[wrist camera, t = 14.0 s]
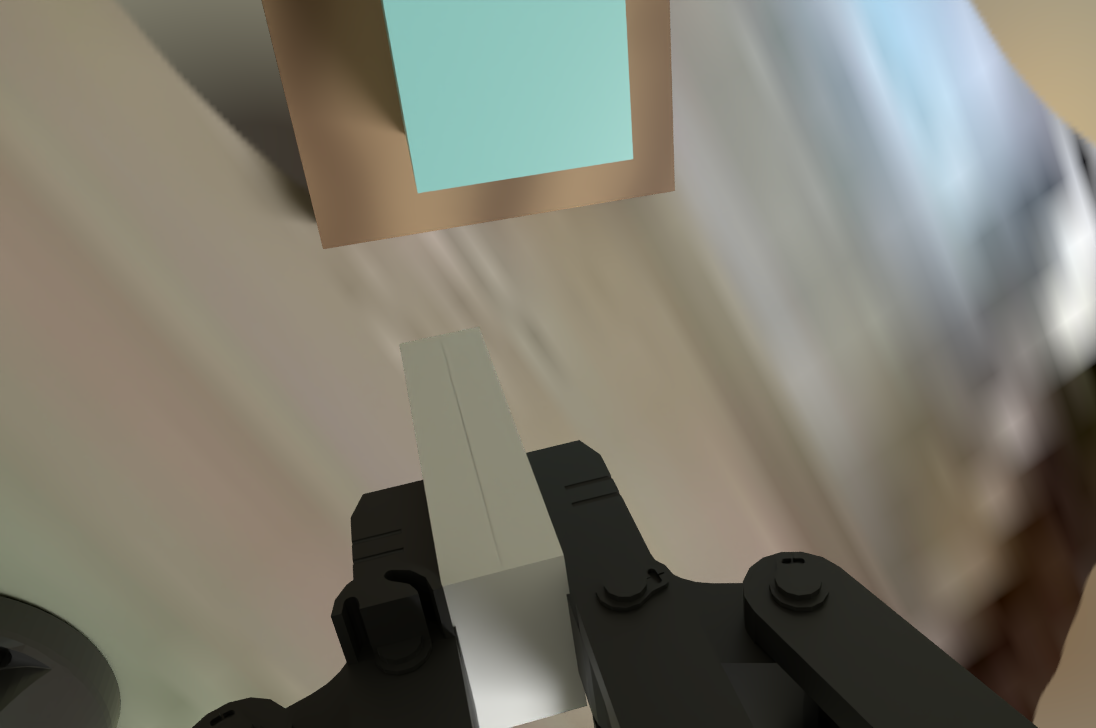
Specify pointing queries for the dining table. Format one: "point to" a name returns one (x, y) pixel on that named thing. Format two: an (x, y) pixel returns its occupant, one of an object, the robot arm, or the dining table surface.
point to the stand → (380, 143)
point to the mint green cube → (509, 86)
